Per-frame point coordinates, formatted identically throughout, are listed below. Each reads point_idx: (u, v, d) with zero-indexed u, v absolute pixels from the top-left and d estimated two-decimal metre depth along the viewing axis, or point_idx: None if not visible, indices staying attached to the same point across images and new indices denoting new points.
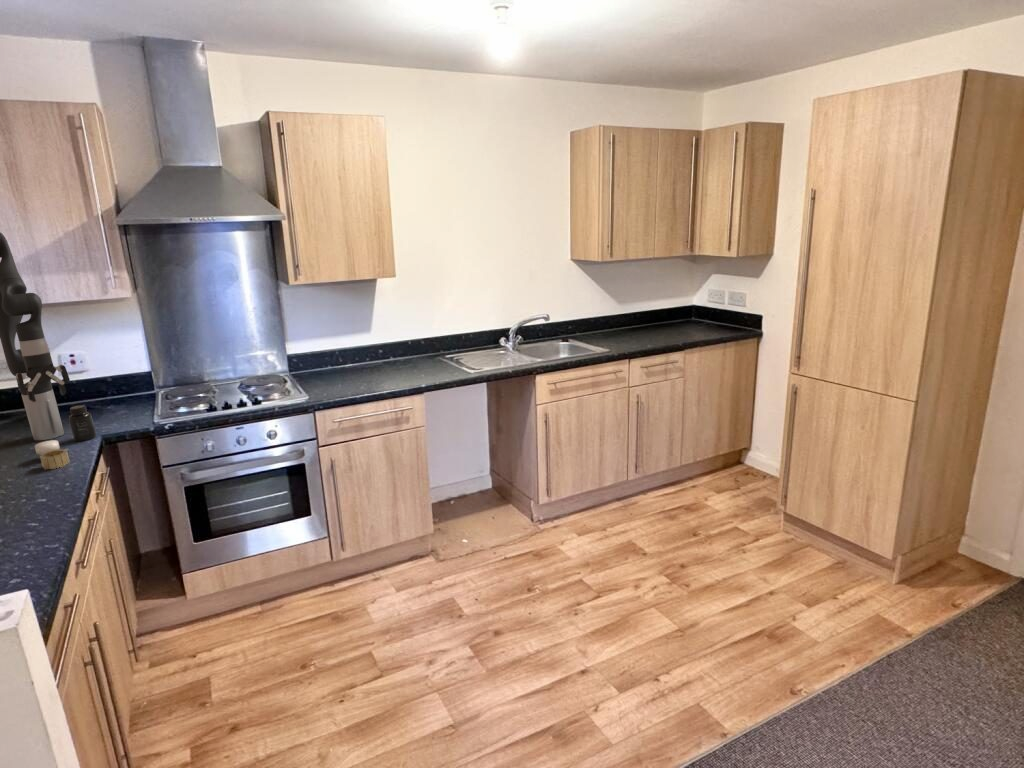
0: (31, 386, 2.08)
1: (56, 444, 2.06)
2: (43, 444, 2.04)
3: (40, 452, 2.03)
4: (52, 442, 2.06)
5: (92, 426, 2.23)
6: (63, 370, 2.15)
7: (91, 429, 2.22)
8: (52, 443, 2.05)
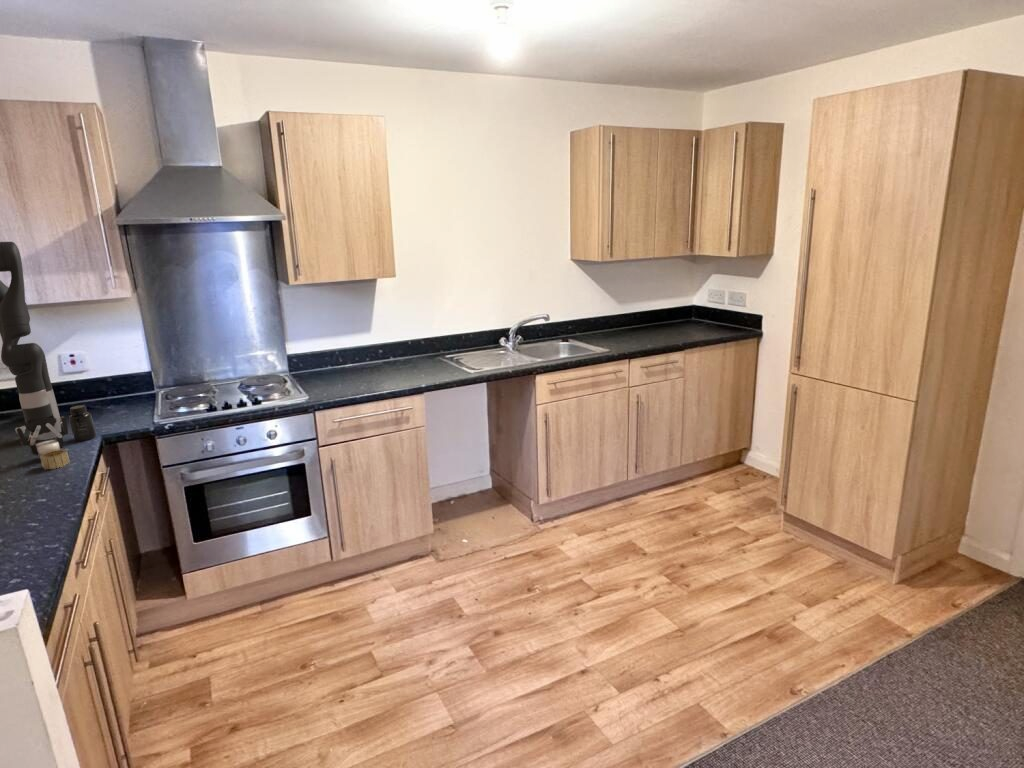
0: (33, 439, 2.01)
1: (56, 444, 2.06)
2: (43, 444, 2.04)
3: (40, 452, 2.03)
4: (52, 442, 2.06)
5: (92, 426, 2.23)
6: (63, 422, 2.07)
7: (91, 429, 2.22)
8: (52, 443, 2.05)
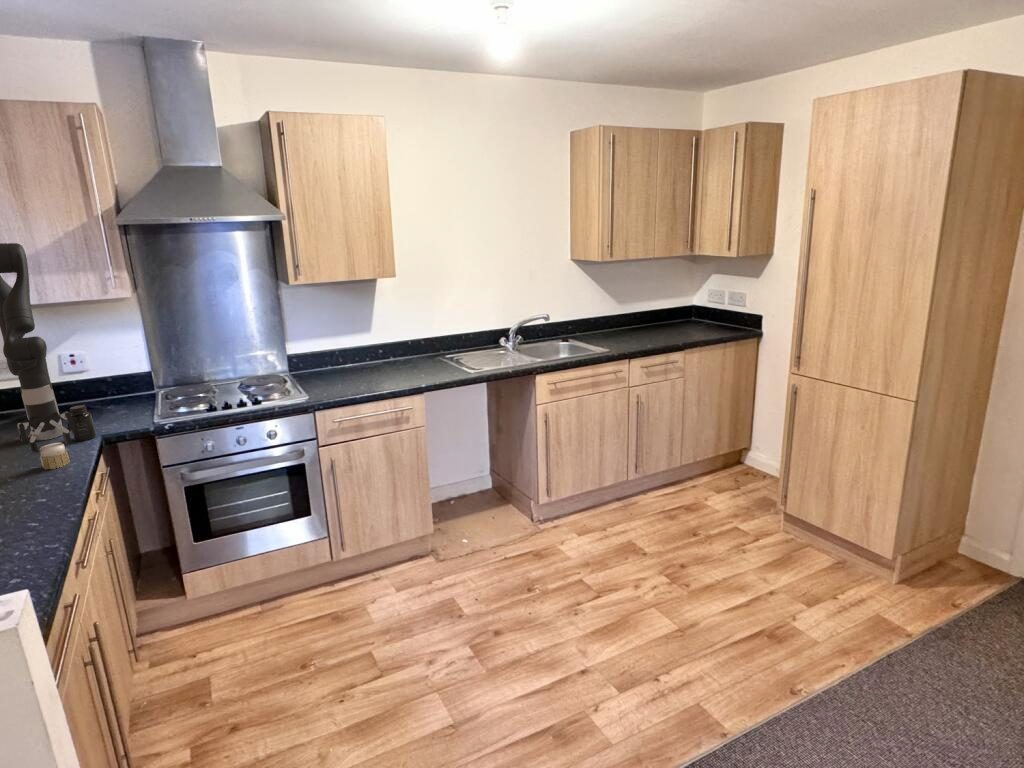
0: (33, 436, 1.93)
1: (62, 447, 1.98)
2: (48, 447, 1.97)
3: (45, 455, 1.96)
4: (57, 445, 1.99)
5: (92, 426, 2.23)
6: (68, 418, 2.00)
7: (91, 429, 2.22)
8: (58, 445, 1.98)
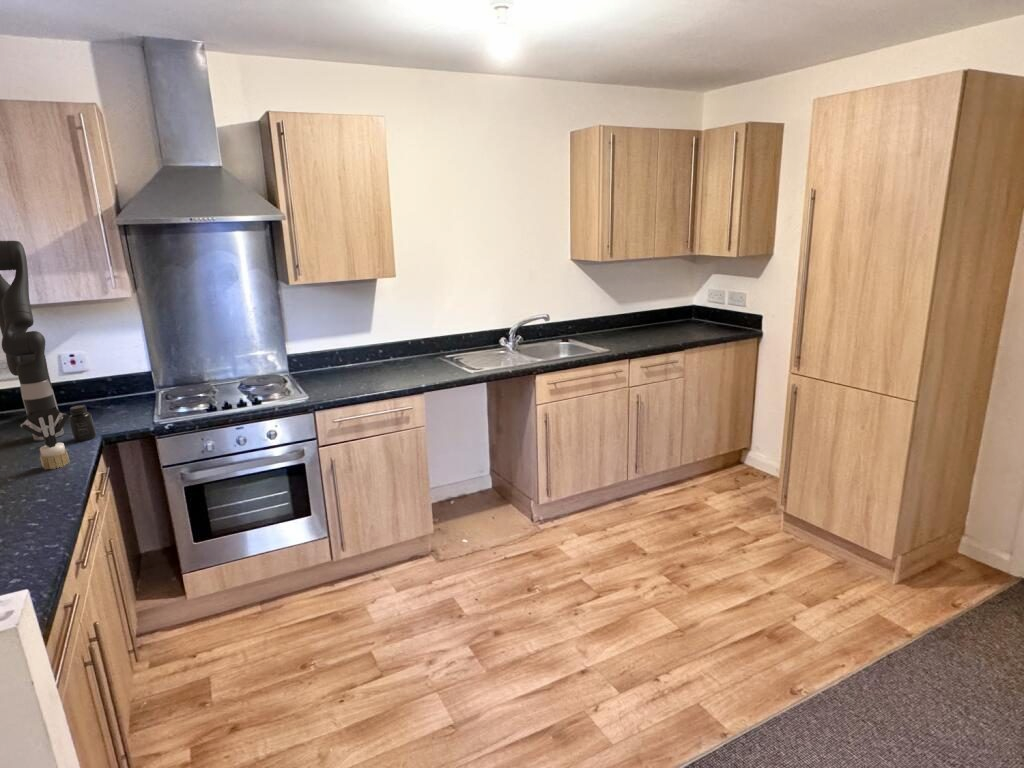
0: (44, 431, 1.95)
1: (62, 447, 1.98)
2: (48, 447, 1.97)
3: (45, 455, 1.96)
4: (57, 445, 1.99)
5: (92, 426, 2.23)
6: (63, 419, 1.99)
7: (91, 429, 2.22)
8: (58, 445, 1.98)
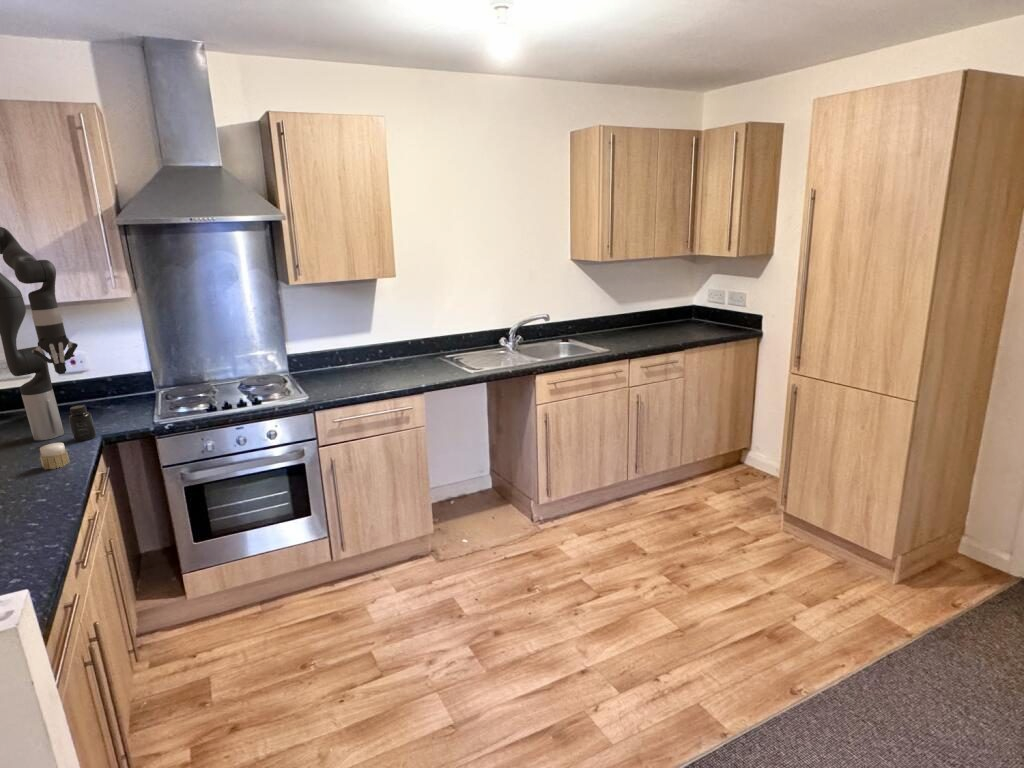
0: (55, 358, 2.03)
1: (62, 447, 1.98)
2: (48, 447, 1.97)
3: (45, 455, 1.96)
4: (57, 445, 1.99)
5: (92, 426, 2.23)
6: (72, 347, 2.06)
7: (91, 429, 2.22)
8: (58, 445, 1.98)
